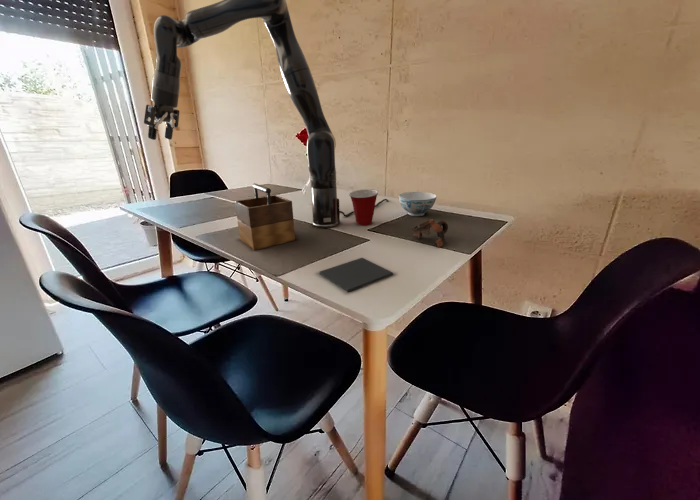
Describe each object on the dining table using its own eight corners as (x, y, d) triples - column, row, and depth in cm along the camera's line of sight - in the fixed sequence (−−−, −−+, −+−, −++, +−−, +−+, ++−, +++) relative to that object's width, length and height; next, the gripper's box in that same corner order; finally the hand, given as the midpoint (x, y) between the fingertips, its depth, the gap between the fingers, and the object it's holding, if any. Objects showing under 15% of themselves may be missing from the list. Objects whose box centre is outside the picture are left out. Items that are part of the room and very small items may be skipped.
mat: (362, 259, 86) (362, 257, 86) (392, 274, 78) (392, 272, 77) (319, 273, 79) (319, 271, 78) (347, 292, 70) (347, 289, 70)
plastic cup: (344, 221, 121) (344, 190, 116) (369, 217, 125) (370, 187, 120) (356, 229, 111) (356, 196, 107) (383, 225, 115) (383, 193, 111)
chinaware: (397, 218, 123) (398, 199, 120) (398, 208, 137) (399, 191, 134) (436, 219, 121) (438, 200, 118) (433, 209, 135) (434, 192, 132)
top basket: (277, 212, 108) (273, 180, 104) (293, 219, 99) (290, 185, 95) (237, 219, 100) (231, 185, 96) (250, 228, 91) (245, 191, 87)
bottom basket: (279, 231, 111) (277, 212, 108) (295, 240, 102) (293, 219, 99) (240, 239, 103) (237, 219, 100) (253, 250, 94) (250, 228, 91)
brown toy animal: (434, 252, 92) (422, 227, 91) (415, 255, 100) (403, 232, 100) (460, 234, 97) (449, 210, 96) (440, 238, 105) (429, 217, 105)
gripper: (163, 90, 95) (157, 143, 100) (189, 95, 108) (183, 142, 114) (139, 81, 94) (134, 135, 100) (168, 87, 108) (163, 135, 113)
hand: (160, 138), depth 107 cm, fingers open, 8 cm apart
